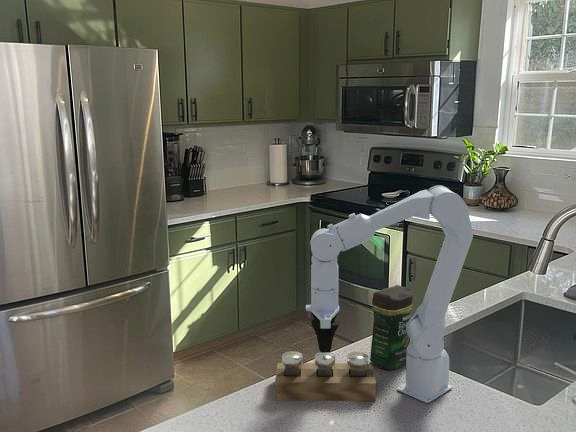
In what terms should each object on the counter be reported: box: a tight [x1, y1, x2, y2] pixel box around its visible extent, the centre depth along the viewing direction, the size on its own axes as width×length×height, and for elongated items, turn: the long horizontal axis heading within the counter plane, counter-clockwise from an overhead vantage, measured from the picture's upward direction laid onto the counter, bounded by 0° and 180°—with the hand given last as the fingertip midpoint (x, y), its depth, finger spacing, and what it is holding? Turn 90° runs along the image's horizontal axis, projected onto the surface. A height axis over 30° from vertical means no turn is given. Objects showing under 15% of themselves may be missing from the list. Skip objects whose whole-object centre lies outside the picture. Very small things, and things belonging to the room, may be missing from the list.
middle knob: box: [314, 351, 336, 377], centre depth 121 cm, size 4×4×6 cm
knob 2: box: [346, 351, 369, 377], centre depth 120 cm, size 4×4×6 cm
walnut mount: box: [274, 362, 377, 402], centre depth 121 cm, size 21×9×4 cm, turn 87°
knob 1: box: [281, 350, 304, 377], centre depth 121 cm, size 4×4×6 cm
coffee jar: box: [369, 284, 414, 371], centre depth 132 cm, size 10×8×19 cm
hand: (324, 347), depth 120 cm, fingers open, 4 cm apart
